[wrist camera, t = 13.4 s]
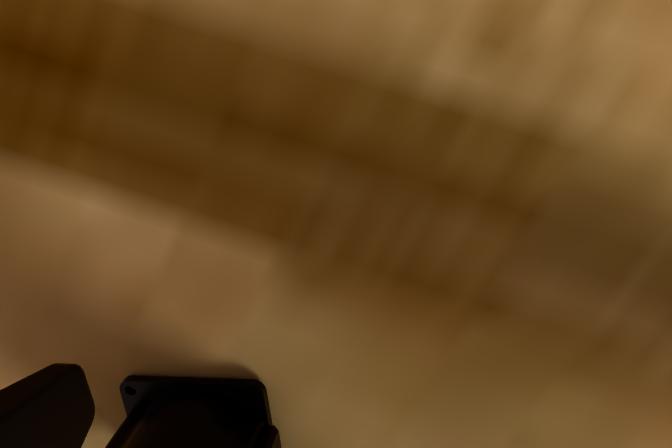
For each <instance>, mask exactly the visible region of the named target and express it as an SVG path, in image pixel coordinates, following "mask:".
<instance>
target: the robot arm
mask: <svg viewBox="0 0 672 448" xmlns="http://www.w3.org/2000/svg"><path fill="white" fill-rule="evenodd" d="M130 386H132V387H133V388H135V389H133V388H131V387H130ZM250 390H252V391H255V392H256V393H257V394H253V393H252V392H250ZM120 392H121V396H122V399H123V403H124V406H125V410H126V413H127V417H126V419H125V420H124V421H123V423H122V424H121V426H120V427H119V429H118V430H117V431H116V433H115V434H114V436H113V437H112V438H111V440H110V441H109V443H108V444H107V446H106V447H105V448H281V442H280V436H279V431H278V429H277V428H276V427H275V426H274V425H272V420H271V414H270V408H269V402H268V396H267V391H266V388H265V386H264V384H263V383H262V382H260V381H258V380H253V379H225V378H195V377H165V376H135V375H132V376H128V377H126V378H125V379H124V381H123V382H122V383H121V385H120ZM94 415H95V405H94V401H93V398H92V395H91V392H90V389H89V385H88V382H87V379H86V376H85V373H84V371H83V369H82V368H81V367H80V366H79V365H77V364H64V363H56V364H52V365H50V366H48V367H46V368H44V369H42V370H40V371H38V372H36V373H34V374H32V375H30V376H28V377H26V378H24V379H22V380H20V381H18V382H16V383H14V384H12V385H10V386H8V387H6V388H4V389H2V390H0V448H81V447H82V445H83V442H84V440H85V438H86V436H87V433H88V431H89V429H90V427H91V424H92V422H93V419H94Z"/></svg>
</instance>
